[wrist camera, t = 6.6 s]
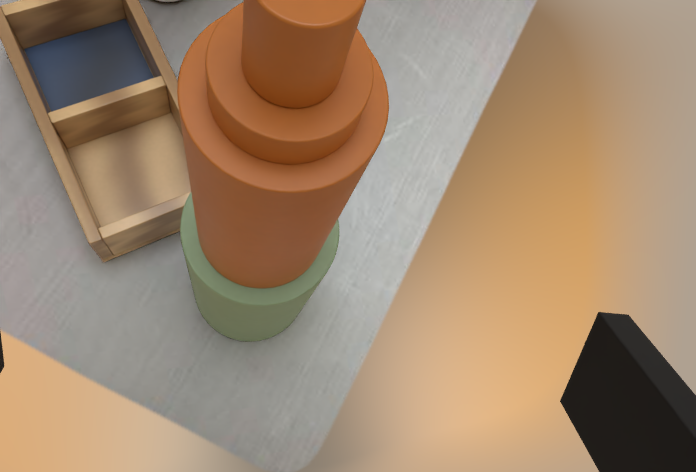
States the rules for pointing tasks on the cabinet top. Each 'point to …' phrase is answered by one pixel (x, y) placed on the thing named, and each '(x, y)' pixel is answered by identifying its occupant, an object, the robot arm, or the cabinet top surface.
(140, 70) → the wooden divided box
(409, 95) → the cabinet top surface
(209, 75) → the bottle
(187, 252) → the stand
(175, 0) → the drinking glass
